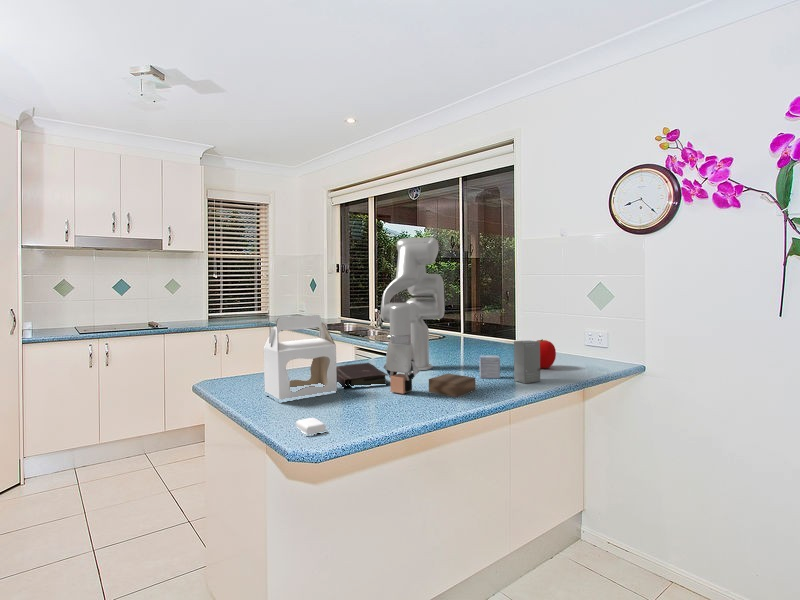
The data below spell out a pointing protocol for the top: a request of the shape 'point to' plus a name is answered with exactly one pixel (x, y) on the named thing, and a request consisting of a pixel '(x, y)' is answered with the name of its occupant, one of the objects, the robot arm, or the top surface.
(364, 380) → the diary
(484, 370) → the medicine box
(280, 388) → the gable box
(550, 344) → the tomato
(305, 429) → the soap
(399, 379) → the terracotta cube
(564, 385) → the top surface
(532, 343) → the tall grey block
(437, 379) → the walnut block
